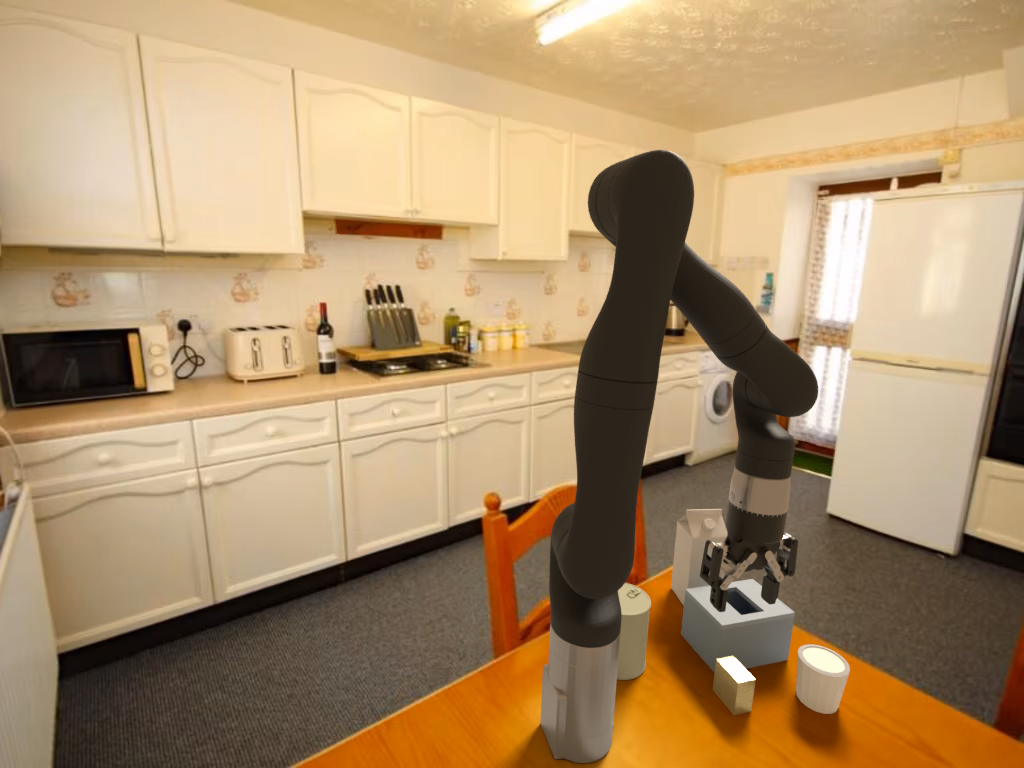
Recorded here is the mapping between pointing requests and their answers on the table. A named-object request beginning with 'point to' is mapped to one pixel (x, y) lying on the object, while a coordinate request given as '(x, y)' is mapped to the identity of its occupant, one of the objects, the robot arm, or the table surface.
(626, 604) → the can
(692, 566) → the milk carton
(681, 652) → the table surface
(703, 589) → the coin box
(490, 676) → the table surface
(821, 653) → the white cup
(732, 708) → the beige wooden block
